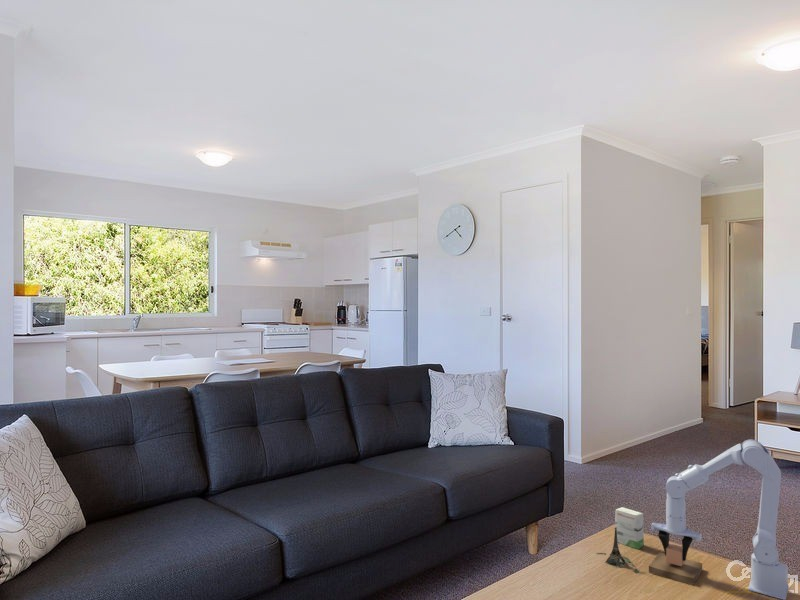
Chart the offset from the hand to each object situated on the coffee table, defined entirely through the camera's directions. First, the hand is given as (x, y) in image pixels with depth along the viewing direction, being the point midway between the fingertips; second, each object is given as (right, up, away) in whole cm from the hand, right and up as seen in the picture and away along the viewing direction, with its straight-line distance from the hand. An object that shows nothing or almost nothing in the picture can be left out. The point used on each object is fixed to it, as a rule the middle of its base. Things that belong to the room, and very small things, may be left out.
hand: (675, 557), depth 185 cm
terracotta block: (0, -2, 0) cm, 2 cm away
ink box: (-7, -5, +21) cm, 22 cm away
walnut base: (0, -4, 0) cm, 4 cm away
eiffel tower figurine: (-17, -5, +5) cm, 18 cm away
